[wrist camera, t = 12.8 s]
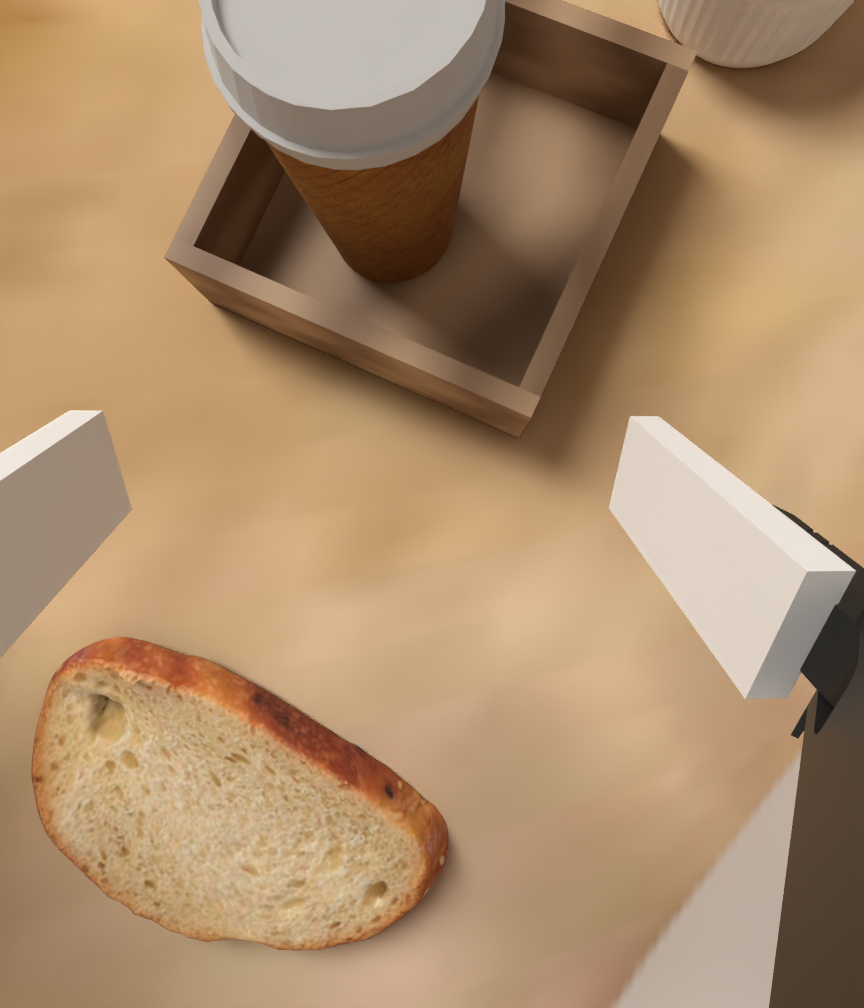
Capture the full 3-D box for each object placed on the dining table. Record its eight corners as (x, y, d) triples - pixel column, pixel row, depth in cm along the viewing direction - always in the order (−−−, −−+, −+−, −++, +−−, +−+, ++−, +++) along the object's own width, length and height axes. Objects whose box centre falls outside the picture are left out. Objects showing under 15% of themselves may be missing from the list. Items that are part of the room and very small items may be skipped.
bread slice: (470, 879, 26) (473, 938, 22) (138, 1011, 26) (85, 1091, 22) (339, 544, 27) (320, 545, 23) (26, 673, 27) (-42, 694, 24)
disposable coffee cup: (452, 336, 26) (449, 164, 14) (277, 283, 27) (134, 76, 15) (508, 165, 27) (552, -140, 15) (336, 117, 27) (243, -213, 15)
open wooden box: (211, 302, 28) (164, 257, 23) (352, 12, 29) (333, -86, 24) (518, 438, 27) (531, 417, 22) (657, 131, 27) (697, 51, 23)
